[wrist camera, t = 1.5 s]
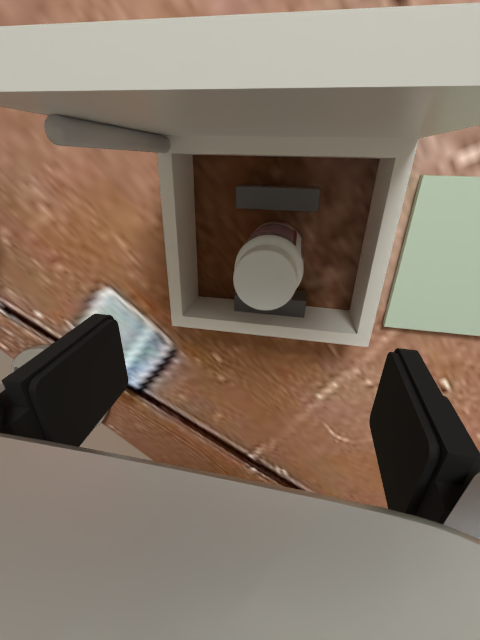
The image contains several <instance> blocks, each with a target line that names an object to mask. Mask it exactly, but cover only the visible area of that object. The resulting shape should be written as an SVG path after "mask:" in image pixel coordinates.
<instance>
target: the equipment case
mask: <svg viewBox="0 0 480 640" xmlns="http://www.w3.org/2000/svg"><path fill="white" fill-rule="evenodd" d="M0 107H5V108H11V109H16V110H21V111H27V112H32V113H37V114H43V115H48V117H47V118H46V120H45V132H46V135H47V136H48V138H49V139H50V141H51V142H53V143H54V144H56V145H60V146H74V147H87V148H101V149H115V150H128V151H142V152H156V153H157V160H158V171H159V183H160V194H161V206H162V217H163V228H164V240H165V251H166V263H167V274H168V286H169V297H170V308H171V320H172V326H179V327H189V328H198V329H207V330H216V331H225V332H235V333H244V334H253V335H262V336H271V337H280V338H290V339H299V340H308V341H317V342H326V343H335V344H345V345H354V346H363V347H368V346H369V341H370V337H371V333H372V329H373V325H374V321H375V317H376V313H377V308H378V304H379V300H380V296H381V292H382V288H383V284H384V279H385V275H386V271H387V267H388V263H389V259H390V255H391V251H392V246H393V242H394V238H395V234H396V230H397V226H398V222H399V218H400V213H401V209H402V205H403V201H404V197H405V193H406V189H407V185H408V180H409V176H410V172H411V168H412V164H413V160H414V156H415V152H416V147H417V143H418V139H419V138H423V137H427V136H432V135H437V134H441V133H446V132H450V131H455V130H459V129H464V128H469V127H473V126H478V125H480V3H463V4H443V5H423V6H403V7H383V8H362V9H342V10H322V11H302V12H282V13H262V14H242V15H222V16H202V17H182V18H161V19H141V20H121V21H101V22H81V23H61V24H41V25H21V26H1V27H0ZM193 155H222V156H271V157H319V158H368V159H380V160H379V165H378V170H377V175H376V180H375V185H374V190H373V195H372V200H371V205H370V210H369V215H368V220H367V225H366V231H365V236H364V241H363V246H362V251H361V256H360V261H359V266H358V271H357V276H356V281H355V286H354V291H353V296H352V301H351V306H350V310H343V309H332V308H321V307H310V306H306V290H295V292H294V294H293V296H292V298H291V299H290V300H289V301H288V302H287V303H286V304H285V305H283V306H281V307H279V308H277V309H273V310H258V309H255V308H252V307H250V306H248V305H247V304H245V303H244V302H243V301H242V300H241V299H240V298H239V296H238V295H237V293H235V295H234V299H224V298H213V297H202V296H199V294H198V270H197V247H196V223H195V199H194V175H193ZM320 190H321V189H320V188H319V187H306V186H277V185H248V184H241V185H238V186H236V208H244V209H266V210H287V211H309V212H318V205H319V197H320Z"/></svg>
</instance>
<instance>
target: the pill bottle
mask: <svg viewBox="0 0 480 640" xmlns="http://www.w3.org/2000/svg"><path fill="white" fill-rule="evenodd" d="M303 273H304V255H303V242H302V239H301V236H300V235H299V233H298V232H297V230H296V229H295V228H293V227H292V226H291V225H289V224H287V223H285V222H281V221H270V222H266V223H264V224H262V225H260V226H259V227H258V228H256V229H255V230H254V232H253V233H252V234H251V235H250V237H249V238H248V240H247V241H246V242H245V244H244V245H243V246H242V248H241V249H240V250H239V252H238V255H237V257H236V261H235V271H234V275H233V284H234V288H235V291H236V293H237V295H238V296H239V298H240V299H241V300H242V301H243V302H244V303H245V304H247V305H248V306H250V307H252V308H255V309H258V310H273V309H277V308H279V307H281V306H283V305H285V304H286V303H287V302H288V301H289V300H290V299H291V298H292V296H293V294H294V292H295V290H296V289H297V287H298V286H299V284H300V282H301V280H302V277H303Z"/></svg>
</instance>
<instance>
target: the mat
mask: <svg viewBox="0 0 480 640" xmlns="http://www.w3.org/2000/svg"><path fill="white" fill-rule="evenodd" d="M383 325H384V327H393V328H403V329H413V330H424V331H434V332H444V333H454V334H464V335H474V336H480V177H463V176H427V175H421V176H420V180H419V183H418V187H417V191H416V195H415V199H414V203H413V207H412V211H411V215H410V218H409V222H408V226H407V230H406V234H405V238H404V242H403V246H402V250H401V254H400V257H399V261H398V265H397V269H396V273H395V277H394V281H393V285H392V289H391V293H390V296H389V300H388V304H387V308H386V312H385V316H384V320H383Z"/></svg>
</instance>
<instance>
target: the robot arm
mask: <svg viewBox="0 0 480 640" xmlns="http://www.w3.org/2000/svg"><path fill="white" fill-rule="evenodd" d="M2 382H3V383H2V384H1V385H0V640H480V453H479V451H478V449H477V448H476V446H475V444H474V442H473V441H472V439H471V437H470V435H469V434H468V432H467V430H466V429H465V427H464V425H463V423H462V422H461V420H460V418H459V416H458V415H457V413H456V411H455V409H454V408H453V406H452V404H451V403H450V401H449V400H448V398H447V397H445V396H443V395H442V393H441V391H440V390H439V388H438V386H437V384H436V383H435V381H434V379H433V377H432V375H431V374H430V372H429V370H428V368H427V367H426V365H425V363H424V361H423V359H422V358H421V356H420V354H419V352H418V351H416V350H408V349H399V348H397V349H396V350H395V351H394V352H389V353H388V355H387V358H386V362H385V365H384V369H383V372H382V376H381V379H380V383H379V386H378V390H377V394H376V397H375V401H374V404H373V408H372V411H371V415H370V429H371V433H372V438H373V442H374V447H375V451H376V456H377V460H378V465H379V469H380V474H381V478H382V482H383V487H384V491H385V496H386V500H387V505H388V509H386V508H382V507H378V506H373V505H368V504H364V503H359V502H354V501H350V500H345V499H341V498H336V497H331V496H327V495H322V494H318V493H313V492H308V491H303V490H298V489H293V488H288V487H283V486H278V485H273V484H268V483H263V482H258V481H253V480H248V479H243V478H238V477H233V476H228V475H222V474H217V473H212V472H207V471H202V470H197V469H192V468H187V467H181V466H176V465H171V464H166V463H161V462H156V461H150V460H145V459H140V458H135V457H129V456H124V455H119V454H114V453H108V452H103V451H97V450H93V449H87V448H81V447H79V446H80V445H81V444H82V442H83V441H84V440H85V438H86V437H87V436H88V435H89V434H90V432H91V431H92V430H93V429H94V428H95V427H96V426H98V425H99V424H100V423H101V422H102V421H103V419H104V418H105V417H106V415H107V414H108V411H109V409H110V408H111V406H112V405H113V404H114V403H115V401H116V400H117V399H118V398H119V396H120V395H121V394H122V393H123V391H124V390H125V389H126V387H127V384H128V376H127V370H126V365H125V359H124V354H123V348H122V343H121V337H120V332H119V326H118V322H117V321H116V320H114V318H113V317H112V316H111V315H102V314H94V315H92V316H91V317H89V318H88V319H87V320H85V321H84V322H82V323H81V324H80V325H78V326H77V327H75V328H74V329H73V330H71V331H70V332H68V333H67V334H66V335H64V336H63V337H61V338H60V339H59V340H57V341H56V342H54V343H53V344H52V345H37V346H33V347H30V348H28V349H26V350H24V351H23V352H22V353H20V354H19V355H18V356H17V357H16V358H15V359H14V361H13V363H12V366H11V374H10V375H8V376H7V377H6V378H4V379H3V380H2Z"/></svg>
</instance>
